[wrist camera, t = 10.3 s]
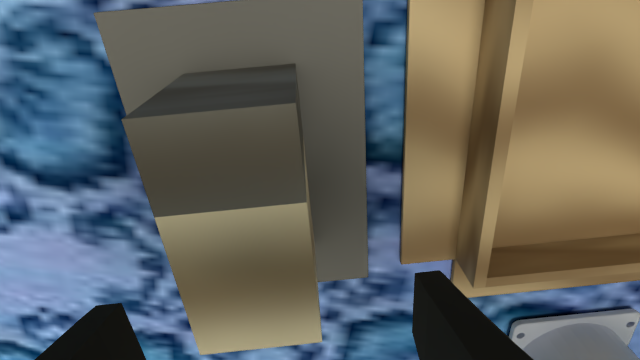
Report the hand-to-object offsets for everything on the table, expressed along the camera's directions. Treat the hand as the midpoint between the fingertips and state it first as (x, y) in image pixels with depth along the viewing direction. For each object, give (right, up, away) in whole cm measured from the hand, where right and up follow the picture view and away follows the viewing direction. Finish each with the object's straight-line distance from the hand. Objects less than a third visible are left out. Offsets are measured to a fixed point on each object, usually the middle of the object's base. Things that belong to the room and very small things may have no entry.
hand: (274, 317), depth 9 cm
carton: (+14, +7, +8) cm, 18 cm away
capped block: (-2, +4, +8) cm, 9 cm away
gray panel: (-2, +4, +8) cm, 9 cm away
